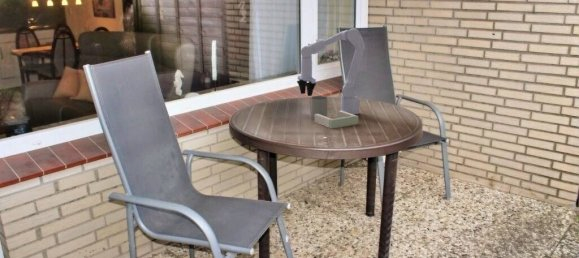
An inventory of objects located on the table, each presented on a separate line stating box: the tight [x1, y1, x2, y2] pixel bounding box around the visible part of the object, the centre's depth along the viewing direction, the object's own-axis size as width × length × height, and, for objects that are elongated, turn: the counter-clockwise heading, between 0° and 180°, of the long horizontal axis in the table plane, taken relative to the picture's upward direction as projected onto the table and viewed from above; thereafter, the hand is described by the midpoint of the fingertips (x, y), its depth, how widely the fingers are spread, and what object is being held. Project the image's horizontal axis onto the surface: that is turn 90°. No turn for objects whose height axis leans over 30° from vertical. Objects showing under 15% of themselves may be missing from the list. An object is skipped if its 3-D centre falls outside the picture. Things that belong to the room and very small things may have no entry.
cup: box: [310, 95, 328, 119], centre depth 248 cm, size 8×8×10 cm
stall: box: [314, 109, 359, 130], centre depth 236 cm, size 16×14×4 cm
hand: (306, 94), depth 256 cm, fingers open, 6 cm apart
